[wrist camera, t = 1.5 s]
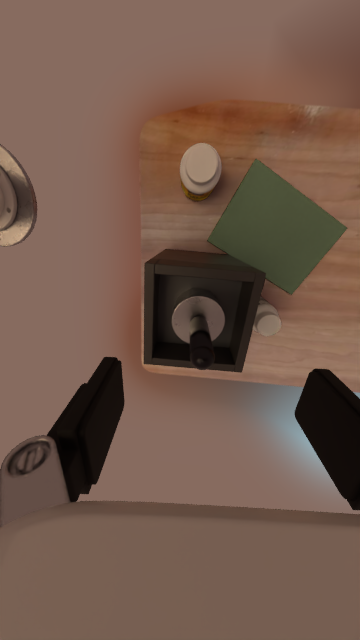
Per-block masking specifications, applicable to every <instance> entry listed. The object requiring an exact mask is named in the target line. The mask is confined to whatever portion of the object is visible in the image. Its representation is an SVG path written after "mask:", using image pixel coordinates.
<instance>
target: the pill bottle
mask: <svg viewBox="0 0 360 640" xmlns="http://www.w3.org/2000/svg"><path fill="white" fill-rule="evenodd" d="M280 328H281V320H280V318H279V314H278V312H277V310H276V309H275V308H274V307H273V306H272V305H271V304H270V303H268V302H267V301H266V300H265V299H264V298H262V297H260V301H259V305H258V309H257V313H256V317H255V321H254V325H253V329H252V330H254V331H256V332H259V333H260V334H261V335H263V336H272V335H274V334H276V333H277V332H278V331H279V330H280Z"/></svg>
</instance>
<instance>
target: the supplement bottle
mask: <svg viewBox="0 0 360 640" xmlns="http://www.w3.org/2000/svg"><path fill="white" fill-rule="evenodd" d="M221 169H222V165H221V159H220V156H219V154H218V152H217V151H216V150H215V149H214V148H213V147H212V146H211V145H209V144H206V143H198V144H195V145H193V146H191V147H190V148H189V149H188V150H187V151H186V152H185V154H184V155H183V157H182V160H181V164H180V178H181V186H182V190H183V192H184V194H185V195H186V197H187V198H189V199H190V200H192V201H202V200H204V199H206V198H207V197H208V196H209V195H210V194H211V192H212V191H213V189H214V188H215V186H216V184H217V183H218V181H219V178H220V175H221Z"/></svg>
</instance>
